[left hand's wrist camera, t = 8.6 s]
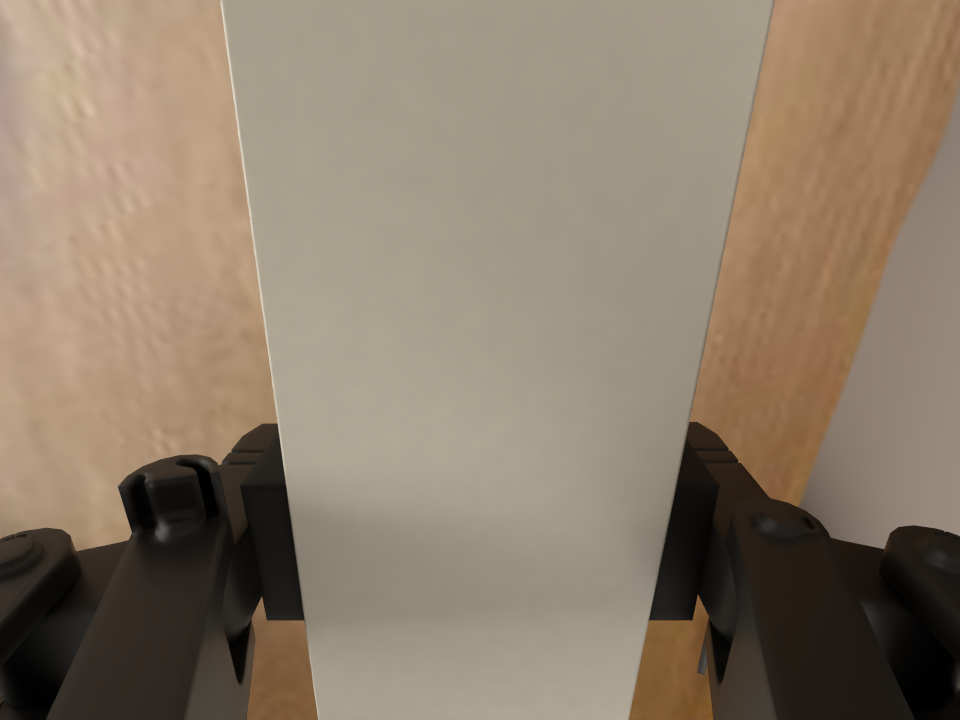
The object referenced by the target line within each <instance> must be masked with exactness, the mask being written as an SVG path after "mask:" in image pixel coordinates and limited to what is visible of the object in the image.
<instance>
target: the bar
mask: <svg viewBox="0 0 960 720" xmlns="http://www.w3.org/2000/svg"><path fill="white" fill-rule="evenodd" d="M220 3H221V10H222V18H223V25H224V32H225V40H226V47H227V54H228V62H229V69H230V76H231V84H232V91H233V98H234V106H235V113H236V120H237V128H238V135H239V142H240V150H241V157H242V164H243V172H244V179H245V186H246V194H247V201H248V208H249V216H250V223H251V231H252V238H253V245H254V253H255V260H256V267H257V275H258V282H259V289H260V297H261V304H262V311H263V319H264V326H265V333H266V341H267V348H268V355H269V363H270V370H271V377H272V385H273V392H274V399H275V407H276V414H277V421H278V429H279V436H280V443H281V451H282V458H283V465H284V473H285V480H286V487H287V495H288V502H289V509H290V517H291V524H292V532H293V539H294V546H295V554H296V561H297V568H298V576H299V583H300V590H301V598H302V605H303V612H304V620H305V627H306V634H307V642H308V649H309V656H310V664H311V671H312V678H313V686H314V693H315V700H316V708H317V715H318V720H629V715H630V710H631V705H632V700H633V696H634V691H635V686H636V681H637V676H638V671H639V666H640V661H641V656H642V651H643V646H644V642H645V637H646V632H647V627H648V622H649V617H650V612H651V607H652V602H653V597H654V592H655V587H656V583H657V578H658V573H659V568H660V563H661V558H662V553H663V548H664V543H665V538H666V533H667V529H668V524H669V519H670V514H671V509H672V504H673V499H674V494H675V489H676V484H677V479H678V474H679V470H680V465H681V460H682V455H683V450H684V445H685V440H686V435H687V430H688V425H689V420H690V416H691V411H692V406H693V401H694V396H695V391H696V386H697V381H698V376H699V371H700V366H701V362H702V357H703V352H704V347H705V342H706V337H707V332H708V327H709V322H710V317H711V312H712V307H713V303H714V298H715V293H716V288H717V283H718V278H719V273H720V268H721V263H722V258H723V253H724V249H725V244H726V239H727V234H728V229H729V224H730V219H731V214H732V209H733V204H734V199H735V194H736V190H737V185H738V180H739V175H740V170H741V165H742V160H743V155H744V150H745V145H746V140H747V136H748V131H749V126H750V121H751V116H752V111H753V106H754V101H755V96H756V91H757V86H758V82H759V77H760V72H761V67H762V62H763V57H764V52H765V47H766V42H767V37H768V32H769V27H770V23H771V18H772V13H773V8H774V3H775V0H220Z"/></svg>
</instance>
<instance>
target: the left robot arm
mask: <svg viewBox="0 0 960 720" xmlns="http://www.w3.org/2000/svg"><path fill="white" fill-rule="evenodd" d="M231 451H232V452H231V453H229V454H228V455H227V456H226V457H225V459H224V460H223V461H222V465H219V466H218V463H217V462H216V461H214V460H213V459H212V458H210V457H207V456H201V455H179V456H174V457H170V458H165V459H161V460H158V461H156V462H153V463H151V464H148V465H145V466H143V467H141V468H140V469H138V470H136V471H135V472H133V473H132V474H130V475H128V476H127V477H126V478H125V479H124V480H123V481H122V483H121V484H120V485H119V486H118V488H119V492H120V495H121V498H122V501H123V505H124V508H125V511H126V514H127V518H128V521H129V524H130V527H131V531H132V534H131V536H130V539H129V540H127V541H124V542H120V543H115V544H110V545H106V546H101V547H96V548H91V549H86V550H81V551H77V552H76V550H75V548H74V545H73V542H72V539H71V537H70V535H69V534H67V533H66V532H64V531H63V530H61V529H52V528H43V529H35V530H28V531H23V532H19V533H17V534H15V535H14V534H12V535H10V536H7V537H4V538H2V539H0V720H247V711H248V702H249V693H250V684H251V675H252V666H253V657H254V648H255V634H254V628H253V623H252V619H251V617H252V615H253V613H254V611H255V609H256V607H257V605H258V603H259V601H260V599H261V597H262V598H263V602H264V607H265V612H266V617H267V620H304V612H303V605H302V598H301V590H300V583H299V576H298V568H297V561H296V554H295V546H294V539H293V532H292V524H291V517H290V509H289V502H288V495H287V487H286V480H285V473H284V465H283V458H282V451H281V443H280V436H279V429H278V424H261V425H260V426H258V427H257V428H255V429H253V430H252V431H250V432H249V433H247V434H245V435H244V436H243V437H242V438H241V439H240V440H239V441H238V443H237V444H236V445H235V446H234V448H233V449H232V450H231ZM698 595H699V597H700V599H701V601H702V603H703V605H704V607H705V609H706V611H707V613H708V615H709V619H708V623H707V628H706V632H705V637H704V642H703V646H702V651H701V655H700V660H699V666H698V672H697V673H700V674H704V675H705V670H706V666H707V665H708V674H709V683H710V692H711V701H712V709H713V718H714V720H960V536H958V535H955V534H952V533H950V532H944V531H943V530H939V529H935V528H928V527H921V526H904V527H898V528H897V529H895V530H894V531H892V532H891V533H890V535H889V538H888V541H887V543H886V546H885V549H880V548H875V547H871V546H866V545H861V544H856V543H851V542H846V541H841V540H837V539H834V538H830V535H829V533H828V532H827V530H826V529H825V528H824V526H823V525H822V524H821V522H820V521H819V520H817V519H816V518H815V517H813V516H812V515H810V514H809V513H808V512H806V511H805V510H803V509H800V508H798V507H796V506H794V505H792V504H790V503H787V502H783V501H779V500H775V499H771V498H769V497H768V495H767V494H766V493H765V492H764V491H763V489H762V488H761V487H760V486H759V485H758V483H757V482H756V481H755V480H754V478H753V477H752V476H751V475H750V474H749V472H748V471H747V470H746V469H745V468H744V466H743V465H742V464H741V463H738V459H737V458H736V457H735V455H734V454H733V453H732V452H731V451H729V450H728V447H727V446H726V445H725V443H724V442H723V441H722V440H721V439H720V437H719V436H718V435H717V434H716V433H714V432H713V431H711V430H709V429H708V428H706V427H705V426H703V425H701V424H700V423H698V422H689V425H688V430H687V435H686V440H685V445H684V450H683V455H682V460H681V465H680V470H679V474H678V479H677V484H676V489H675V494H674V499H673V504H672V509H671V514H670V519H669V524H668V529H667V533H666V538H665V543H664V548H663V553H662V558H661V563H660V568H659V573H658V578H657V583H656V587H655V592H654V597H653V602H652V607H651V612H650V617H649V620H693V615H694V610H695V605H696V600H697V596H698Z"/></svg>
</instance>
